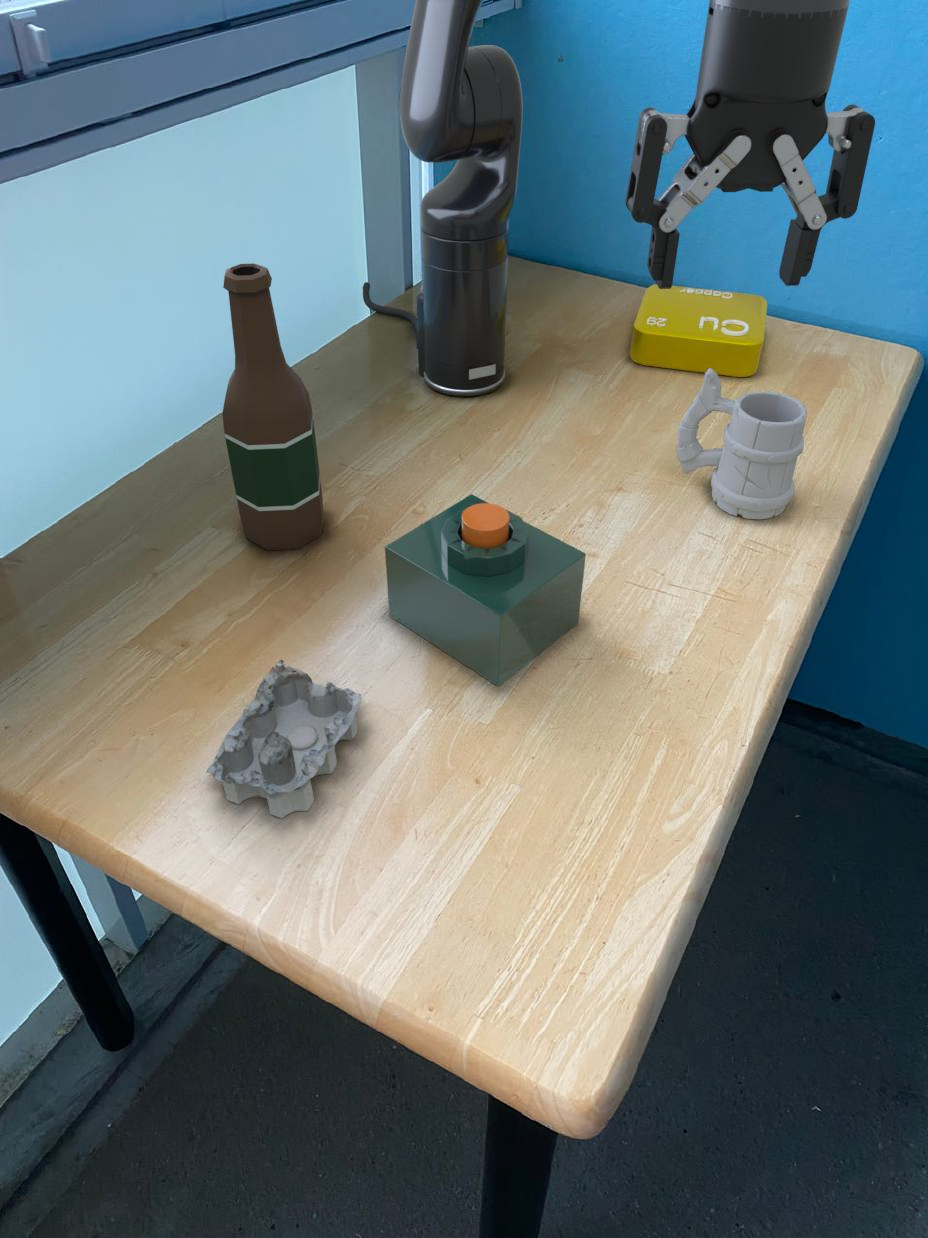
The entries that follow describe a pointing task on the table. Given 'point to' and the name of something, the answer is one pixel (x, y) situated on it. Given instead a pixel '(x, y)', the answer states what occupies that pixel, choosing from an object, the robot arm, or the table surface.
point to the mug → (746, 448)
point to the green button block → (484, 591)
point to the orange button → (485, 525)
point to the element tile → (699, 330)
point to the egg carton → (285, 740)
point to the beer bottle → (268, 424)
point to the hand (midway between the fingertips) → (725, 283)
